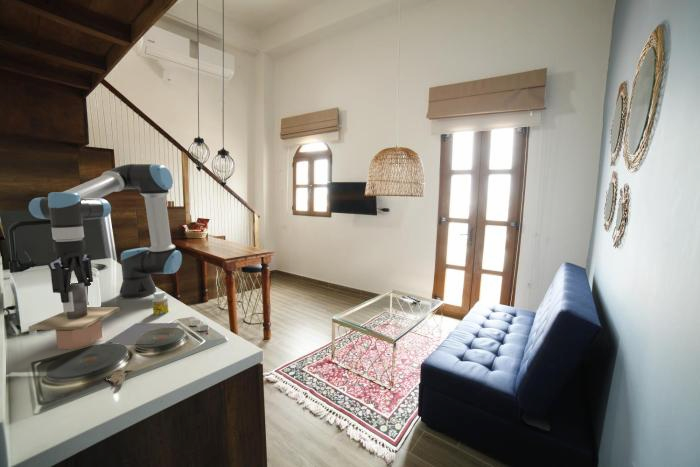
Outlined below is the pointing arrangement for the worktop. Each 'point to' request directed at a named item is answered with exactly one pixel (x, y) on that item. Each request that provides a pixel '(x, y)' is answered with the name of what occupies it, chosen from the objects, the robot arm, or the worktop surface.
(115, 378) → the jawbone
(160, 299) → the supplement bottle
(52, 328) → the oak lid
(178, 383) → the worktop surface
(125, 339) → the rubber mat
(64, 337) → the terracotta bowl
